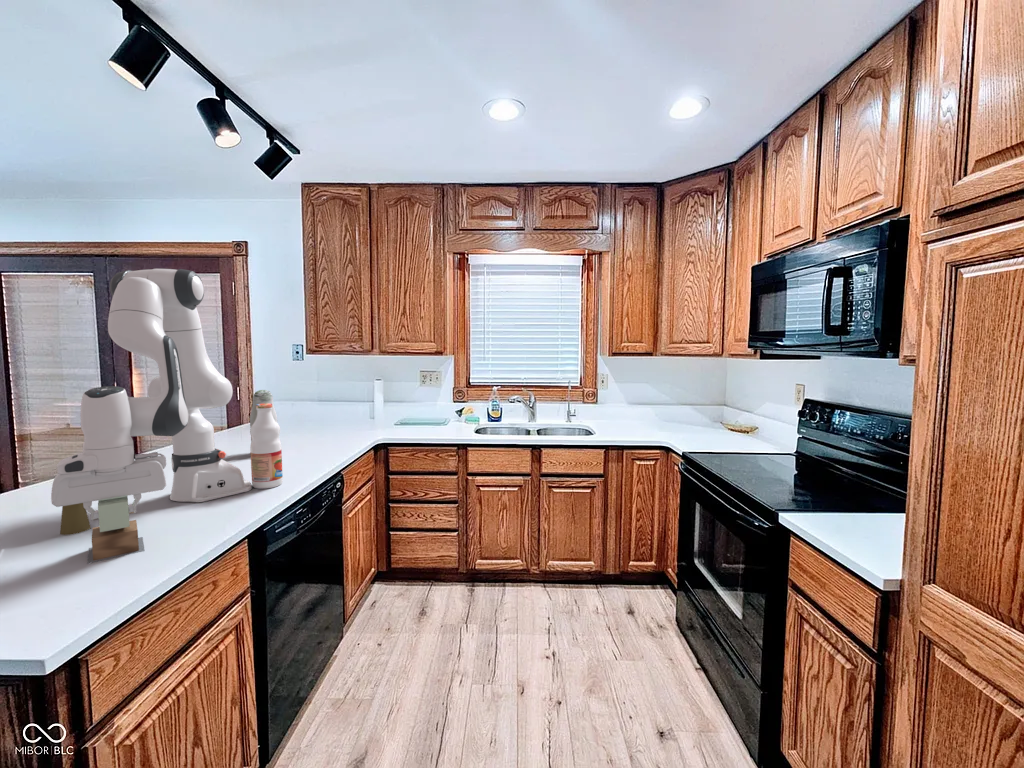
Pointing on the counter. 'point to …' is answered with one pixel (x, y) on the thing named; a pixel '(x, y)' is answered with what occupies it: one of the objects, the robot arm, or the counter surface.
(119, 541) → the walnut base block
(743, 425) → the counter surface
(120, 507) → the sage block
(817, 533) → the counter surface
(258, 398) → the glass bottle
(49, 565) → the counter surface
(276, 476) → the fruit juice
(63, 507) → the cork
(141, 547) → the slate coaster
